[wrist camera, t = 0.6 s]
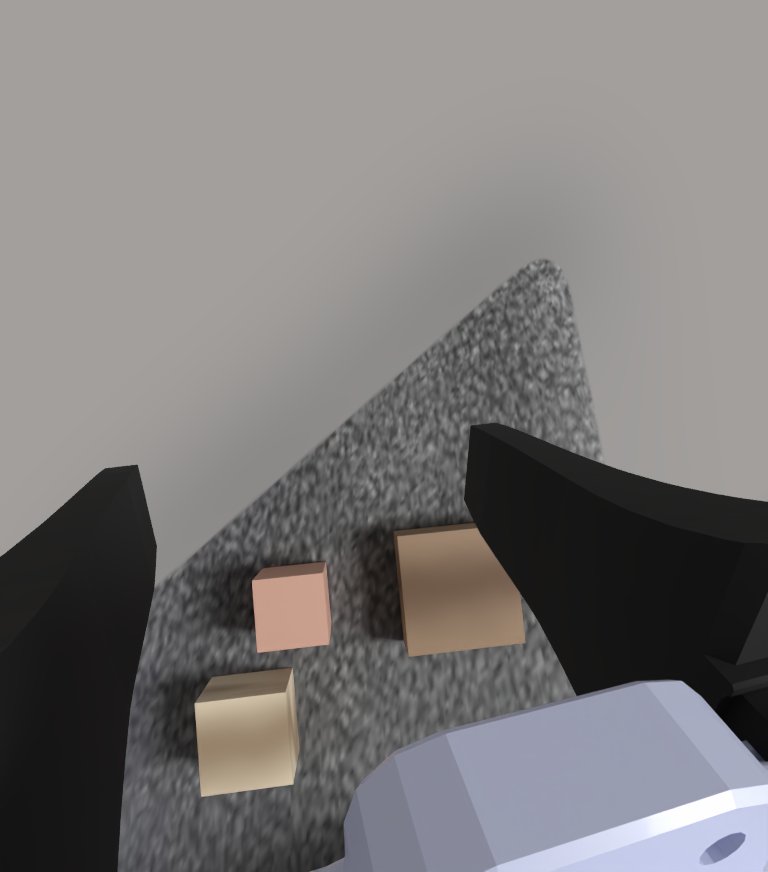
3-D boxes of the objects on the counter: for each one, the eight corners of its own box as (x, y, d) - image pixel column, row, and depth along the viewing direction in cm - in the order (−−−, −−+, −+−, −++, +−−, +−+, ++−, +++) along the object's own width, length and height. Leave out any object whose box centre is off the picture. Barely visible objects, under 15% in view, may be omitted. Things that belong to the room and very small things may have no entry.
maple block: (299, 747, 34) (293, 784, 30) (218, 758, 34) (201, 796, 30) (292, 666, 34) (285, 692, 30) (212, 676, 34) (194, 703, 30)
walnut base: (510, 628, 35) (525, 642, 32) (403, 640, 35) (408, 656, 32) (498, 520, 36) (512, 524, 33) (393, 531, 35) (397, 536, 32)
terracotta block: (331, 624, 35) (329, 644, 31) (268, 631, 34) (257, 652, 30) (325, 561, 35) (322, 572, 31) (263, 568, 35) (251, 580, 31)
